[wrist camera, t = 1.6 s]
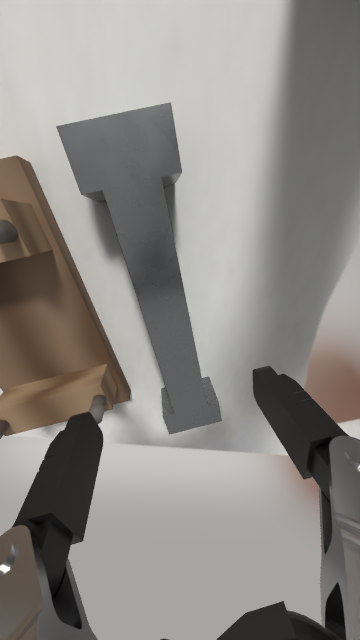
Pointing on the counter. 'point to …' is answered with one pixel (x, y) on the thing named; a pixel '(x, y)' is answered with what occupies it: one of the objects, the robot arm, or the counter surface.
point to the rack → (46, 318)
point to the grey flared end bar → (146, 241)
